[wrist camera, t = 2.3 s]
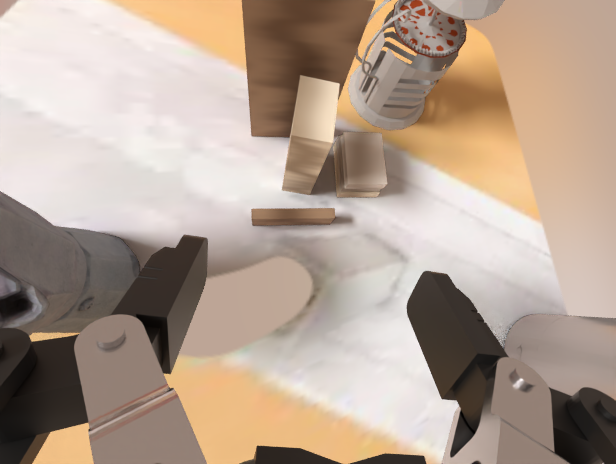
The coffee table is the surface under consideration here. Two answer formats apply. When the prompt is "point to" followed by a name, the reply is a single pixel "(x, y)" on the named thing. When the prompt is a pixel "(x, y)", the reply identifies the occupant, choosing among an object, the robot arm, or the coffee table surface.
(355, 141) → the offcut stack
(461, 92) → the coffee table surface
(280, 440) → the coffee table surface
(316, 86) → the light wooden block
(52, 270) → the moka pot
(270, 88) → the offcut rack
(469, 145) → the coffee table surface
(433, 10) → the french press
